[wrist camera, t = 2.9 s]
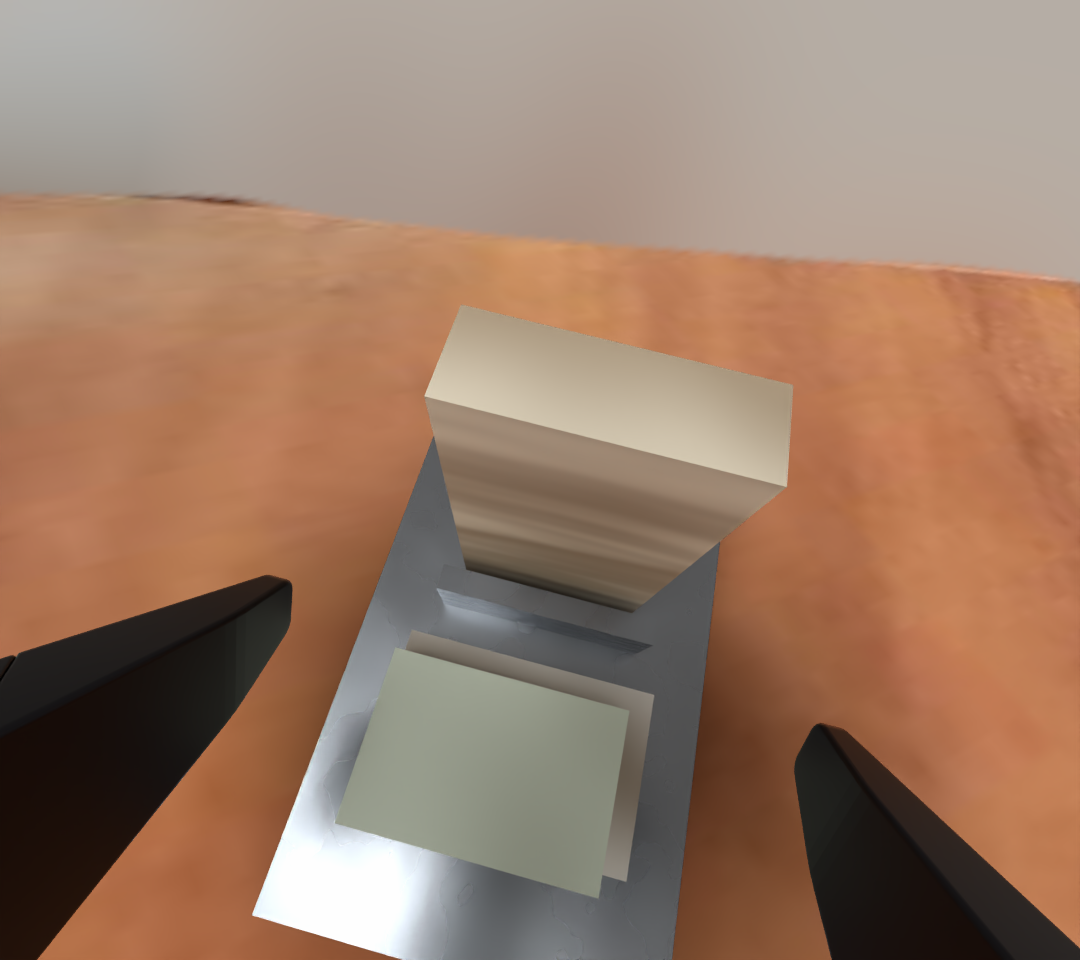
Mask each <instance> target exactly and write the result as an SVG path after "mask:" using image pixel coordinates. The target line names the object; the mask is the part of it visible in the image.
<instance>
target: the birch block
mask: <svg viewBox="0 0 1080 960" xmlns="http://www.w3.org/2000/svg"><path fill="white" fill-rule="evenodd" d="M424 397H425V401H426V405H427V409H428V413H429V417H430V422H431V426H432V430H433V434H434V438H435V442H436V447H437V451H438V455H439V459H440V463H441V467H442V471H443V476H444V480H445V484H446V488H447V492H448V496H449V501H450V505H451V509H452V513H453V517H454V521H455V525H456V530H457V534H458V538H459V542H460V546H461V550H462V555H463V559H464V563H465V567H466V570H469V571H473V572H477V573H481V574H485V575H488V576H492V577H496V578H500V579H504V580H507V581H511V582H515V583H519V584H522V585H526V586H530V587H534V588H538V589H541V590H545V591H549V592H553V593H557V594H560V595H564V596H568V597H572V598H576V599H579V600H583V601H587V602H591V603H595V604H598V605H602V606H606V607H610V608H614V609H617V610H621V611H625V612H629V613H633V612H634V611H635V610H637V609H638V608H639V607H640V606H641V605H643V604H644V603H645V602H646V601H648V600H649V599H650V598H651V597H653V596H654V595H655V594H656V593H657V592H659V591H660V590H661V589H662V588H664V587H665V586H666V585H667V584H668V583H670V582H671V581H672V580H673V579H675V578H676V577H677V576H678V575H679V574H681V573H682V572H683V571H684V570H686V569H687V568H688V567H689V566H691V565H692V564H693V563H694V562H695V561H697V560H698V559H699V558H700V557H702V556H703V555H704V554H705V553H706V552H708V551H709V550H710V549H711V548H713V547H714V546H715V545H716V544H717V543H719V542H720V541H721V540H722V539H724V538H725V537H726V536H727V535H729V534H730V533H731V532H732V531H733V530H735V529H736V528H737V527H738V526H740V525H741V524H742V523H743V522H744V521H746V520H747V519H748V518H749V517H751V516H752V515H753V514H754V513H755V512H757V511H758V510H759V509H760V508H762V507H763V506H764V505H765V504H767V503H768V502H769V501H770V500H771V499H773V498H774V497H775V496H776V495H778V494H779V493H780V492H781V491H782V490H784V489H785V488H786V487H787V476H788V460H789V444H790V428H791V413H792V397H793V385H791V384H787V383H783V382H779V381H775V380H771V379H766V378H762V377H758V376H754V375H750V374H746V373H742V372H738V371H733V370H729V369H725V368H721V367H717V366H713V365H709V364H705V363H700V362H696V361H692V360H688V359H684V358H680V357H676V356H672V355H667V354H663V353H659V352H655V351H651V350H647V349H643V348H639V347H634V346H630V345H626V344H622V343H618V342H614V341H610V340H606V339H601V338H597V337H593V336H589V335H585V334H581V333H577V332H572V331H568V330H564V329H560V328H556V327H552V326H548V325H544V324H539V323H535V322H531V321H527V320H523V319H519V318H515V317H511V316H506V315H502V314H498V313H494V312H490V311H486V310H482V309H478V308H473V307H469V306H465V305H461V306H460V309H459V311H458V314H457V316H456V319H455V321H454V324H453V326H452V329H451V331H450V334H449V336H448V339H447V341H446V344H445V346H444V349H443V351H442V354H441V356H440V359H439V361H438V364H437V366H436V369H435V371H434V374H433V376H432V379H431V381H430V384H429V386H428V389H427V391H426V394H425V396H424Z"/></svg>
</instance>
